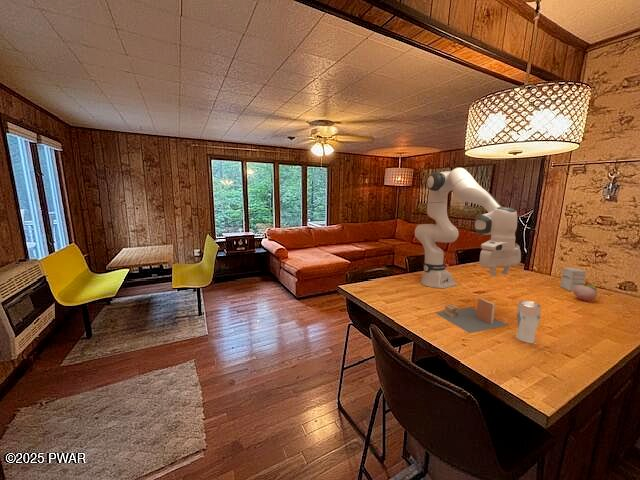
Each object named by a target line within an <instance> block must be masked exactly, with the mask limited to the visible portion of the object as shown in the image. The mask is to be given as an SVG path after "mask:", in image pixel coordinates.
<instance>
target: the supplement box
mask: <svg viewBox="0 0 640 480" xmlns="http://www.w3.org/2000/svg"><path fill="white" fill-rule="evenodd" d="M586 274H587V271H586V270H584V269H580V268H577V267H563V268H562V274H561V279H560V288H563V289H565V290H567V291H569V292H573V289H574V287H575V286H576V285H575V284H585V280H586V279H585V278H586Z"/></svg>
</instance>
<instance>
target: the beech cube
mask: <svg viewBox="0 0 640 480" xmlns="http://www.w3.org/2000/svg"><path fill="white" fill-rule="evenodd" d="M459 309H460V307H458V306H456V305H453V304H447V305H445V307H444V311H445V314H447V315H448V316H450V317H455V316H458V311H459Z"/></svg>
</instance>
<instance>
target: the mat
mask: <svg viewBox="0 0 640 480" xmlns="http://www.w3.org/2000/svg"><path fill="white" fill-rule="evenodd" d="M435 314H436V315H438V316H439V317H441V318H443V319H444V320H446V321H448V322H450V323H451V324H452V325H455V326H456V327H458V328H460V329H461V330H463V331H465V332H467V333H469V334H473V333H478V332H483V331H488V330H493V329H497V328H502V327H508V326H510V324H509V323H506V322H504V321H502V320H499V319H497V318H495V317H494V319H493V323H492V324H490V323H488V322H486V321H484V320H482V319H480V318H478V317H477V309H476V308H474V307H471V306H469V307H464V308H459V311H458V316H455V317H450V316H448V315H447V314H445V310H444V311H438V312H435Z"/></svg>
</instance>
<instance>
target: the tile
mask: <svg viewBox="0 0 640 480" xmlns="http://www.w3.org/2000/svg"><path fill="white" fill-rule="evenodd" d="M476 306H477V307H476V308H477V309H476V310H477V317H478V318H480V319H482V320H484V321H486V322H488V323H490V324H492V323H493V319H494V318H495V317H494V316H495V307H496V304H495V303H493V302H491V301H488V300H487V299H484V298H482V297H480V298H478V299H477V305H476Z"/></svg>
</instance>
